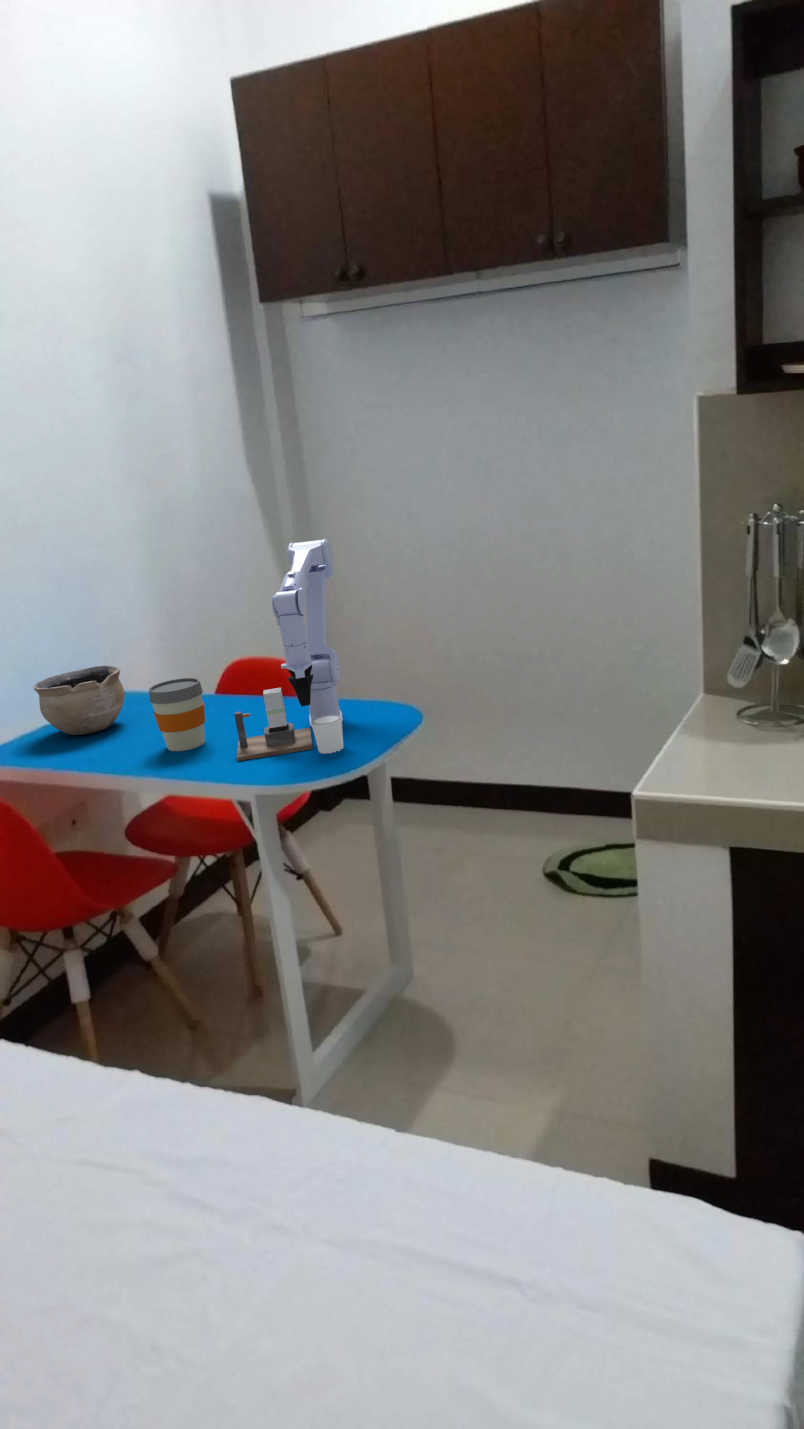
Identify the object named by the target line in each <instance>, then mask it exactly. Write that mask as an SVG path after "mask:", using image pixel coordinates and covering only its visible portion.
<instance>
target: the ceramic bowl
mask: <svg viewBox="0 0 804 1429" xmlns="http://www.w3.org/2000/svg"><path fill="white" fill-rule="evenodd" d="M120 673H121V669H120V668H119V667H118V666H114V665H113V666H112V665H99V666H91V667H86V668H82V669H78V670H72V671H68V672H65V673H61V674H55V675H53V676H50V677H47V678H45V679H43V680H40V681H38V682H36V683H35V684H33V687H32V688H33V690H35V692H36V693H37V694H38V698H39V699H38V700H39V704H38V705H39V711H40V713H41V715H42V717H43V719H45V721H47V722H48V723H49V724H50V725H51V727H53V728H55V729H56V730H59V731H60V732H63V733H64V734H67V735H76V736H80V735H81V736H82V735H89V734H94V733H97V732H101V731H103V730H106V729H107V728H108V727H111V725H113V724H114V723H115V721H116V720H117V718H118V716H119V715H120V714H121V711H122V709H123V706H124V702H125V697H126V696H125V694H126V693H125V689H124V685H123V684H122V682H121V680H120V678H119V677H120V675H121V674H120Z"/></svg>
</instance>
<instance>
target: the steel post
mask: <svg viewBox="0 0 804 1429" xmlns="http://www.w3.org/2000/svg"><path fill="white" fill-rule="evenodd" d="M262 693H263V694H262V696H263V700H264V705H265V714H266V716H267V723H268V726H269V728H274V727H280V726H286V725H287V723H288V722H287V716H286V708H285V703H284V698H283V692H282V687H277V688H276V687H275V688H271V689H270V688H269V689H264V690H263V692H262Z"/></svg>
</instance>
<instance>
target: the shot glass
mask: <svg viewBox="0 0 804 1429" xmlns="http://www.w3.org/2000/svg"><path fill="white" fill-rule="evenodd" d="M311 724H312V727H311V728H312V732H313V734H314V738H315V742H316V747H317V750H318V752H319V753H320V754H324V755H325V754H333V752H334V753H337V752H336V751H338V752H340V751H342V750H343V749H344V739H343V738H344V737H343V736H344V734H343V722H342V718H341V716H338V715H328V716H322V717H319V718H316V719H314V720H312V721H311ZM341 749H342V750H341Z"/></svg>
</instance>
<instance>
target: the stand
mask: <svg viewBox="0 0 804 1429" xmlns="http://www.w3.org/2000/svg"><path fill="white" fill-rule="evenodd" d="M250 715H251V714H250V713H242V711H236V712H235V711H234V720H235V726H236V731H237V737H238V742H237V749H236V750H237V751H236V752H237V753H236V761H237V762H243V761H248V760H247V759H249V760H254V759H260V758H265V757H266V758H267V757H271V756H272V757H273V756H278V755H285V754H290V753H296V752H302V751H309V750H313V748H314V746H313V737H312V729H311V727H306V728H300V729H298V728H297V729H294V728H295V727H294V723H291V722H287V725H286V726H280V727H274V728H269V725H268V726H266V727H264V732H263V733H264V734H263V735H256V736H250V737H249V736H248V737H247V734H246V729H245V724H244V718H249V717H250ZM242 760H243V761H242Z"/></svg>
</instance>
